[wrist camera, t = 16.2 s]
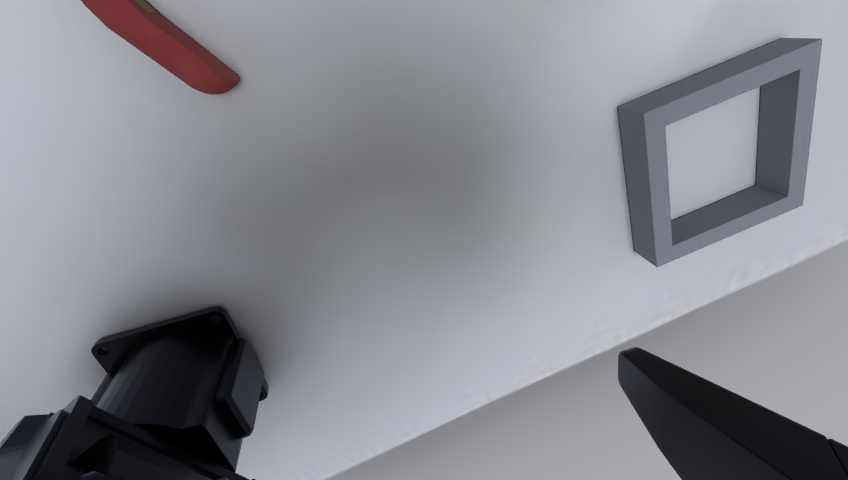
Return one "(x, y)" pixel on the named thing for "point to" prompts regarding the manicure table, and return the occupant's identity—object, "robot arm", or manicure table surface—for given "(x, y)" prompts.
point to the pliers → (164, 43)
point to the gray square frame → (776, 158)
